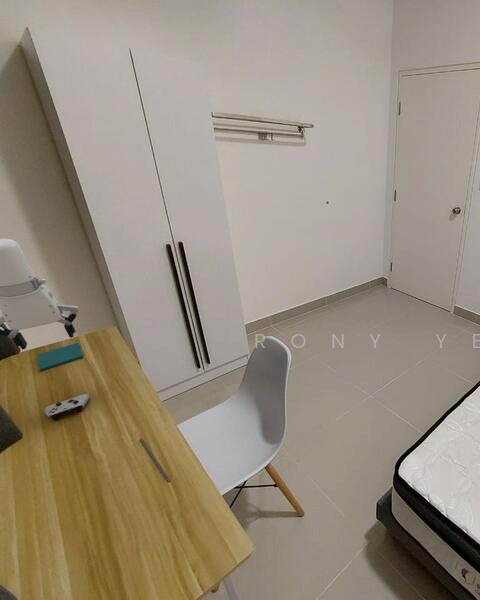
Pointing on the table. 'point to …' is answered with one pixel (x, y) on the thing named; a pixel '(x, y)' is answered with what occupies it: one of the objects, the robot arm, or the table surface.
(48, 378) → the table surface
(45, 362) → the pad
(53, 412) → the game controller
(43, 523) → the table surface
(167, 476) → the rod
